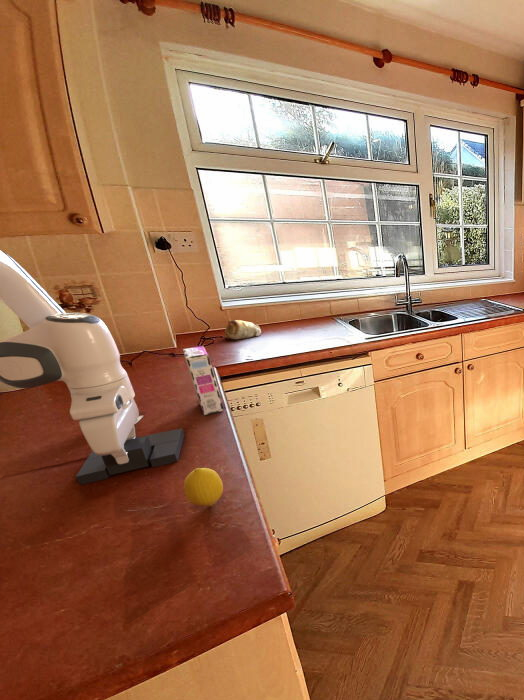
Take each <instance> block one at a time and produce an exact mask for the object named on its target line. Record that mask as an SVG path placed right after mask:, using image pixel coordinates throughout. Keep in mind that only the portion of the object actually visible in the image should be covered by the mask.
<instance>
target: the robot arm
mask: <svg viewBox="0 0 524 700" xmlns="http://www.w3.org/2000/svg"><path fill="white" fill-rule="evenodd" d="M0 300H1V302H3V303H4V304H5V306H6V307H8V309H10V310H11V311H12V312H13V313H14V314H15V315H16V316H17V317H18V318H19V319H20V320H21V321H22V322H23V323H24V324H25V325H26V326H27V327H28V328H29V329H27V330H25V331H23V332H21V333H18V334H16V335H12V336H10V337H7V338H5V339H2V340H0V383H3V384H5V385H7V386H10V387H14V388H17V389H32V388H37V387H41V386H45V385H48V384H52V383H54V382H63V383H65V384H66V387H67V388H68V391H69V393H70V398H71V404H70V408H69V415H70V417H71V419H72V420H73V421H78V424H79V428H80V430H81V432H82V434H83V436H84V439H85V440H86V443H87V444H88V446H89V448H90V449H91V452H92V451H93V452H94V453H95V454H97V455H99V456H101V455H107V454H111V455H112V456H113V457H114V458H115V459H116V461H117V463H118V464H124V463H127V462H128V461H129V459H130V456H129V454H128V452H126V451H125V449H124V443H125V441H126V440H129V439H134V438H137V435H136V427H135V425H136V424H135V422H136V420H137V418H138V416H140V412H139V411H140V410H139V408H138V405H137V403H136V401H135V399H134V398H135V396H136V394H135V391H134V387H133V385H132V383H131V381H130V378H129V375H128V373H127V371H126V370H125V369H124V367H123V366H122V364H121V354H120V352H119V349H118V346H117V344H116V342H115V339H114V337H113V335H112V333H111V331H110V330H109V328H108V326H107V325H106V324H105V322H104V321H103V320H102V319H101V318H99V317H98V316H96V315H93V314H90V313H84V312H66V311H65V310H64V309H63V308H62V307H61V306H60V305H59V304H58V303H57V302H56V301H55V300H54V298H52V297H51V295H49V293H48V292H47V291H46V290H45V289H44V288H43V287H42V286H41V285H40V284H39V283H38V282H37V280H35V279H34V278H33V277H32V276H31V275H30V274H29V273H28V271H26V269H24V268H23V267H22V265H20V263H19V262H17V261H16V260H15V259H13V258H12V257H11V256H10V255H9V254H8V253H6V252H4V251H3V250H2V249H0ZM134 424H135V425H134Z"/></svg>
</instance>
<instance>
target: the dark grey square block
mask: <svg viewBox="0 0 524 700" xmlns="http://www.w3.org/2000/svg"><path fill="white" fill-rule="evenodd" d="M124 449H125V451H126V452H128V454H129V456H130V459H129V461H128V462H127V463H124V464H118V463H117V461H116V459H115V458H114V457H113V456H112V455H111V454H107V455H102V459H103V461H104V464H105V466H106V468H107V471H108V473H109V475H110V476H114V475H117V474H123V473H126V472H130V471H133V470H134V471H135V470H139V469H142V468H147V467H150V465H151V462H150V457H151V454H152V452H153V449H152V447H151V444H150V441H149V439H148V436H147V435H143V437H142V436H139V438H138V437H136V438H134V439H129V440H126V441H125V443H124Z"/></svg>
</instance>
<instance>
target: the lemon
mask: <svg viewBox="0 0 524 700" xmlns="http://www.w3.org/2000/svg"><path fill="white" fill-rule="evenodd" d="M183 488H184V494H185V497H186V499H187V500H188V501H189V502H190V503H191V504H193V505H195V506H199V507H205V506H206V507H211V506H213V504H214V503H216V502H217V501H218V500H219V499H220V498H221V497H222V495H223V492H224V483H223V481H222V479H221V476H220V475H219V474H218V472H216V471H215V470H214V469H212V468H208V467H196V468H195V469H194V470H192V471H191V472H190V473H189V474H188V475H187V476H186V478H185V480H184V483H183Z"/></svg>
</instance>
